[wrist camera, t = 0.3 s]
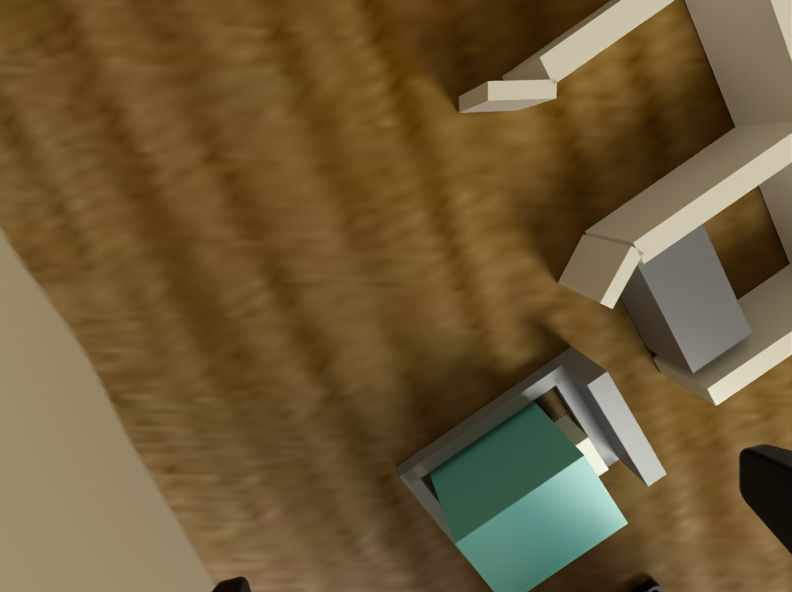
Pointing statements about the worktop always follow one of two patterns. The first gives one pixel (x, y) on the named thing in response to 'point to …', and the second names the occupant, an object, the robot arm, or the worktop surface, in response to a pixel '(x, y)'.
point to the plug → (526, 499)
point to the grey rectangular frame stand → (568, 373)
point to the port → (688, 196)
